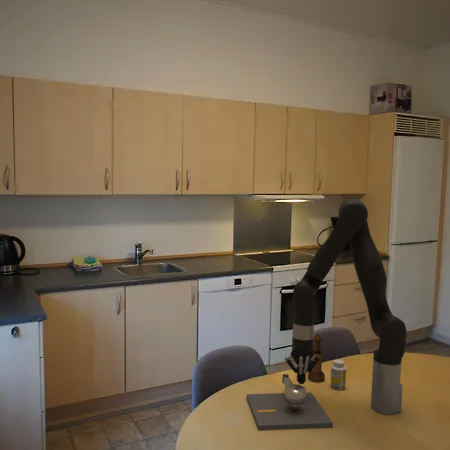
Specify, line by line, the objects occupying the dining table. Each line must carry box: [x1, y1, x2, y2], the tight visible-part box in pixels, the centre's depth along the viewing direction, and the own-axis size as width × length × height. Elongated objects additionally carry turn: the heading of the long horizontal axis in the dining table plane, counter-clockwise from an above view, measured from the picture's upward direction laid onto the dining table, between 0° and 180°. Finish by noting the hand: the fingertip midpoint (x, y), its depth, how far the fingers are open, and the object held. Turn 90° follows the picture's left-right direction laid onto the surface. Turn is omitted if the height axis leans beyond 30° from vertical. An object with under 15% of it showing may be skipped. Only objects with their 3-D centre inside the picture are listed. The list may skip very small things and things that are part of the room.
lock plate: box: [246, 391, 334, 431], centre depth 153 cm, size 24×22×2 cm
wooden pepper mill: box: [307, 334, 326, 383], centre depth 181 cm, size 7×6×18 cm
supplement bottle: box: [330, 359, 347, 391], centre depth 174 cm, size 6×6×10 cm
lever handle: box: [281, 373, 307, 412], centre depth 156 cm, size 17×7×7 cm, turn 7°
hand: (300, 383), depth 161 cm, fingers closed
